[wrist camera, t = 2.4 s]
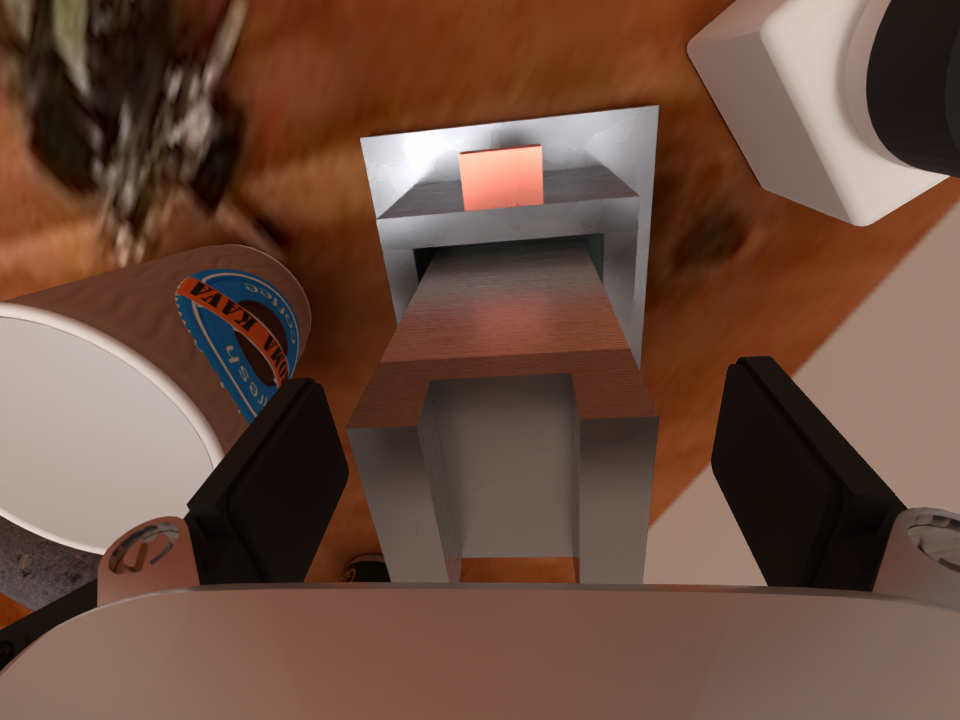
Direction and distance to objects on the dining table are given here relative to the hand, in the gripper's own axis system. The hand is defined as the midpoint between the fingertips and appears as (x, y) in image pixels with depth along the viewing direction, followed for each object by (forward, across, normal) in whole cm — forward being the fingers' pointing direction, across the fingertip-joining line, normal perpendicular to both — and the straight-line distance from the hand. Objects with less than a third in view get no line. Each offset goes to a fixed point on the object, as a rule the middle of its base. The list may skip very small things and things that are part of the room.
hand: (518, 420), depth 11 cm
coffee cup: (+14, +15, +2) cm, 20 cm away
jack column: (+12, 0, 0) cm, 12 cm away
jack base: (+14, 0, 0) cm, 14 cm away
